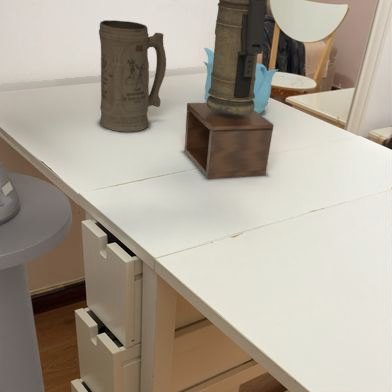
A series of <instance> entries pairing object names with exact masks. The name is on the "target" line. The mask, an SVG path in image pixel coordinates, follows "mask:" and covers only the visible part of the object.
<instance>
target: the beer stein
mask: <svg viewBox="0 0 392 392" xmlns="http://www.w3.org/2000/svg"><path fill="white" fill-rule="evenodd" d="M98 35H99V42H100V93H101V94H100V106H99V107H100V118H99V122H100V126H102V127H104V128H105V129H108V130H111V131H115V132H124V133H130V132H131V133H132V132H133V133H134V132H140V131H142V130H145V129H147V128H148V126H149V120H148V112H149V107H151V106H153V107H157V108H159V107H161V98H160V96H159V95H160V94H159V93H160V89H161V87H162V84H163V81H164V79H165V74H166V70H167V57H166V50H165V46H164V33H161V32H154V34H153V35H151V36H149V30H148V26H147V25H146V24H143V23H139V22H136V21H135V22H134V21H127V20H126V21H125V20H109V19H108V20H102V21H100V23H99V29H98ZM150 48H153V49H154V51H155V55H156V67H155V74H154V78H153V83H152V86H151V90H150V87H149V85H150V83H149V82H150V78H149V77H150V70H149V69H150V63H149V58H148V57H149V56H148V54H149V53H148V50H149V49H150ZM149 90H150V91H149ZM149 92H150V93H149Z"/></svg>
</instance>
